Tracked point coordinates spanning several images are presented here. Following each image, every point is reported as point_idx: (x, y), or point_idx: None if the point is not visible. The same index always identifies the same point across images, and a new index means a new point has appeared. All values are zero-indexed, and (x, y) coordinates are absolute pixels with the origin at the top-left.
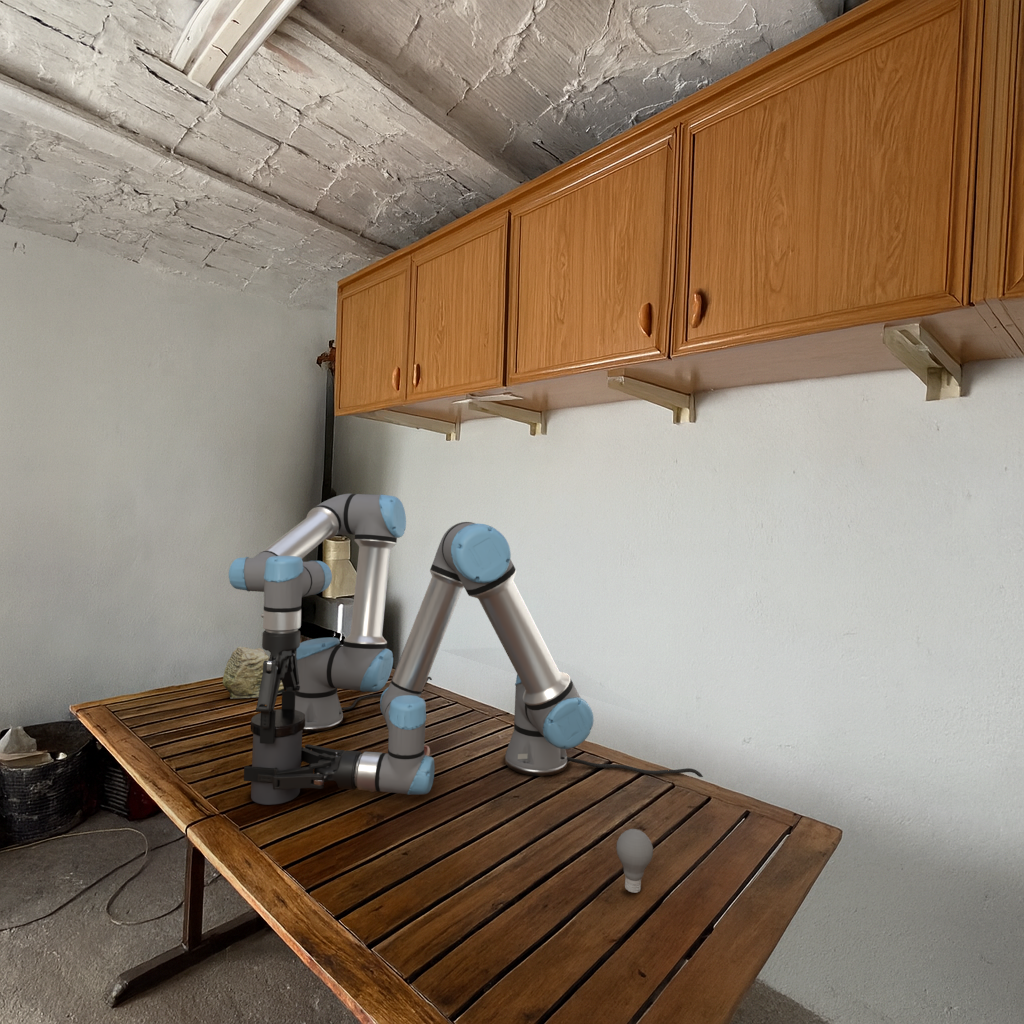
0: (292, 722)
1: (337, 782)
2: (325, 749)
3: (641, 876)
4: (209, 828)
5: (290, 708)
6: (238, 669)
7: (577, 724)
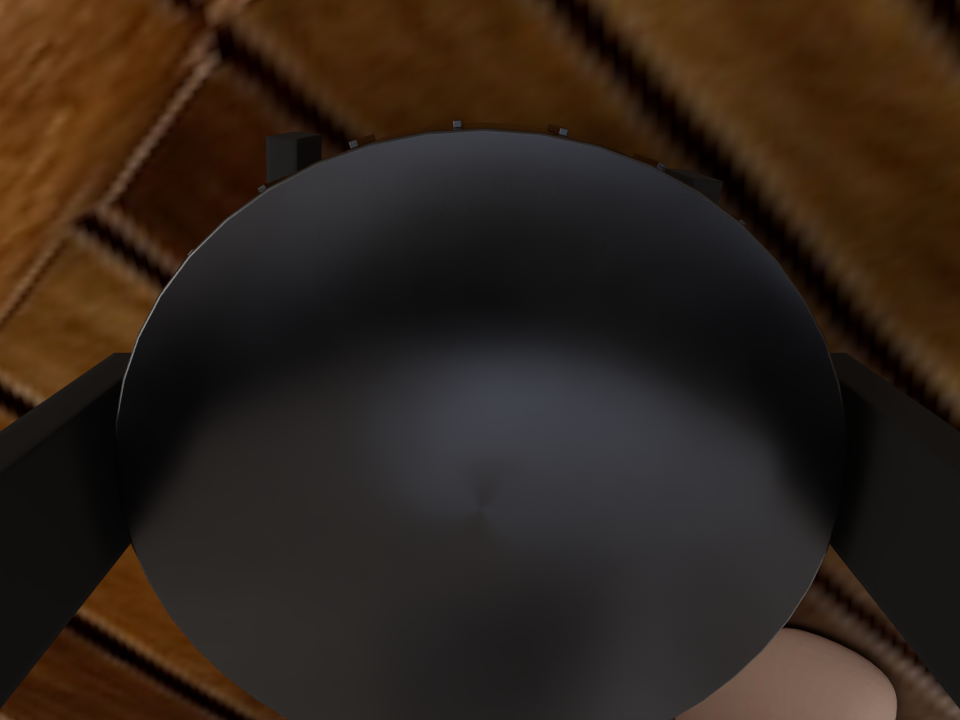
0: (330, 698)
1: None
2: None
3: None
4: (46, 46)
5: (867, 544)
6: None
7: None
